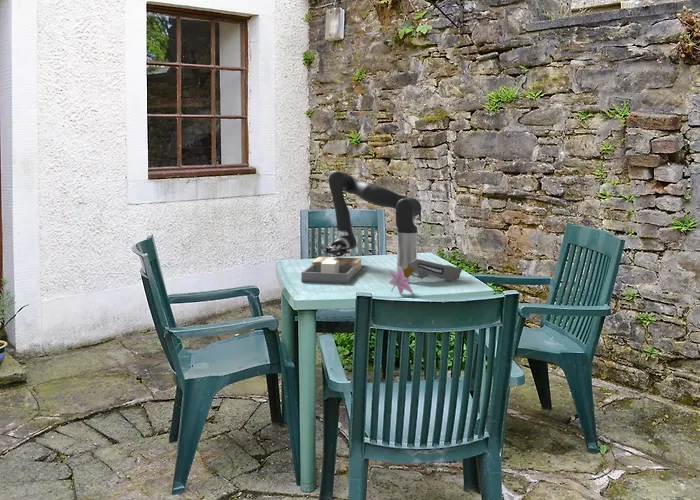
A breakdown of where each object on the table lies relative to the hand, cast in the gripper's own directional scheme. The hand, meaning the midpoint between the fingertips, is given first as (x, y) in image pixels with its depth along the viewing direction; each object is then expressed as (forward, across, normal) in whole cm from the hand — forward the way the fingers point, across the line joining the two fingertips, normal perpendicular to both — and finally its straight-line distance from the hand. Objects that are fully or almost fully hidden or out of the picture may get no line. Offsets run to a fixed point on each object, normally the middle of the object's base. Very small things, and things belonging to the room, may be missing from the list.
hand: (333, 252), depth 335 cm
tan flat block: (-10, 0, +10) cm, 14 cm away
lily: (+35, +33, +10) cm, 49 cm away
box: (+9, 0, +10) cm, 14 cm away
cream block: (0, 0, +6) cm, 6 cm away
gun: (+7, +44, +10) cm, 46 cm away
